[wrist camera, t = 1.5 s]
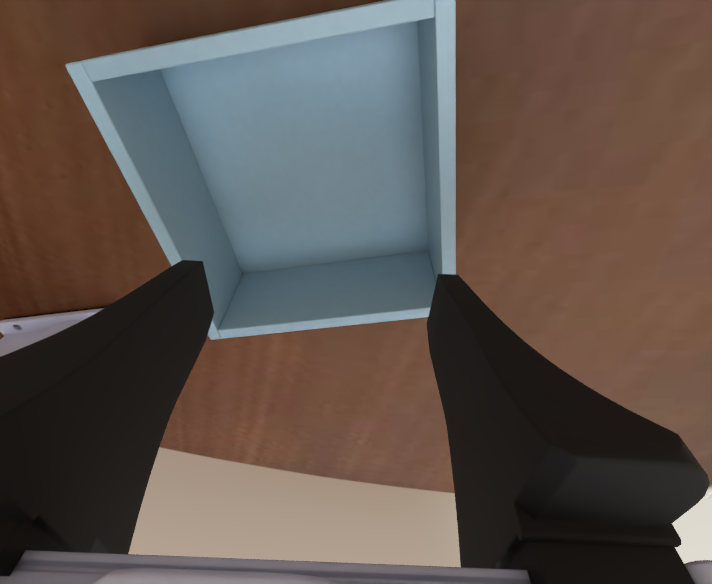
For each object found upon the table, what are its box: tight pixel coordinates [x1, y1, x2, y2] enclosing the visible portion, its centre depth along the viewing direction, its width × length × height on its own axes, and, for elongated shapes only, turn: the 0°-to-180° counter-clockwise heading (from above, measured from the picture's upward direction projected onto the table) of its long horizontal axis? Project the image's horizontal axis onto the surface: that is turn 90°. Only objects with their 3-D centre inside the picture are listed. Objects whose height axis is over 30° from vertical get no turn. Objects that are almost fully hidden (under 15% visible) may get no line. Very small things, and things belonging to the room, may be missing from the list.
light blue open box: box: [65, 0, 456, 340], centre depth 17 cm, size 12×12×6 cm
